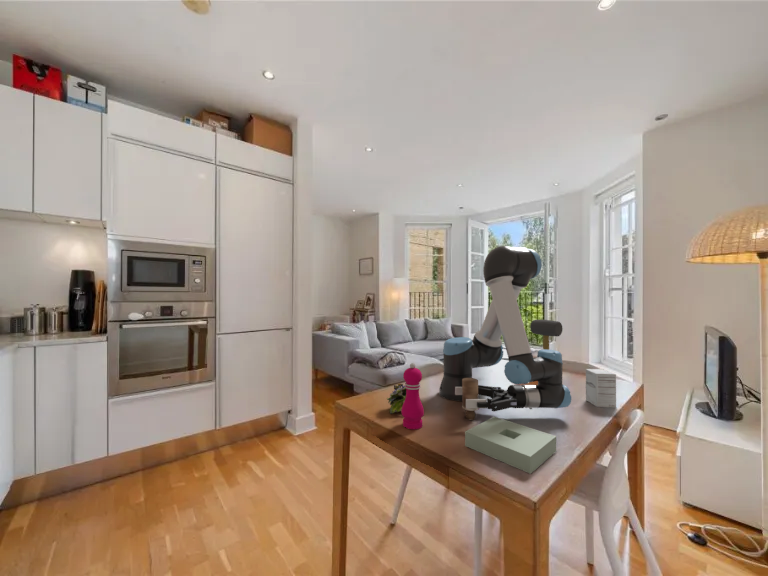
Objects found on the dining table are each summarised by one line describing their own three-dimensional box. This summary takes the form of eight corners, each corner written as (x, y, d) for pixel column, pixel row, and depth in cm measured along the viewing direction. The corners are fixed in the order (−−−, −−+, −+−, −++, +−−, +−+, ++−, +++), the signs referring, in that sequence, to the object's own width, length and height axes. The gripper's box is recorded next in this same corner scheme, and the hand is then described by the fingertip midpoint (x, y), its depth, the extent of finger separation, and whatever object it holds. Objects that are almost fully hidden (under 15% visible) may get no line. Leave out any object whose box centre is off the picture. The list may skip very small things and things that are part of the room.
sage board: (465, 445, 88) (465, 431, 88) (494, 429, 98) (494, 416, 98) (530, 473, 74) (530, 456, 74) (556, 451, 85) (556, 436, 85)
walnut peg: (458, 417, 107) (458, 379, 107) (467, 413, 111) (467, 376, 111) (472, 422, 103) (472, 383, 103) (481, 418, 107) (481, 380, 107)
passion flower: (398, 421, 117) (406, 390, 124) (420, 424, 110) (428, 391, 116) (377, 410, 112) (387, 378, 118) (399, 412, 104) (409, 378, 110)
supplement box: (585, 400, 125) (584, 368, 125) (604, 401, 124) (604, 369, 124) (596, 407, 118) (595, 373, 118) (617, 407, 117) (616, 373, 117)
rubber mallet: (564, 385, 144) (563, 320, 145) (555, 388, 140) (555, 321, 141) (538, 379, 155) (537, 318, 155) (529, 381, 151) (529, 319, 151)
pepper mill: (417, 432, 96) (417, 366, 96) (397, 426, 100) (397, 363, 100) (427, 423, 102) (427, 362, 103) (407, 419, 106) (407, 359, 106)
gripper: (541, 422, 95) (471, 423, 95) (507, 395, 120) (451, 396, 119) (541, 397, 95) (471, 398, 95) (507, 375, 120) (451, 376, 119)
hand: (460, 397), depth 107 cm, fingers open, 12 cm apart
